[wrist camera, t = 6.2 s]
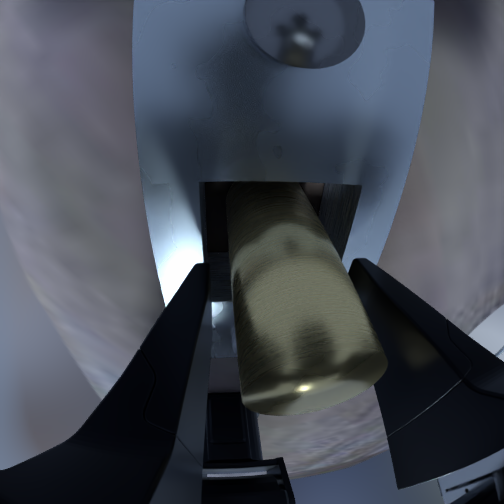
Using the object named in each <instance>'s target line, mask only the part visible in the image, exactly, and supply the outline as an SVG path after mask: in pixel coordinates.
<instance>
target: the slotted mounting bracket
mask: <svg viewBox="0 0 504 504" xmlns="http://www.w3.org/2000/svg"><path fill="white" fill-rule="evenodd" d="M433 25H434V1H433V0H134V9H133V36H132V68H133V96H134V113H135V126H136V138H137V148H138V157H139V166H140V174H141V181H142V188H143V195H144V202H145V208H146V214H147V220H148V226H149V232H150V237H151V242H152V247H153V252H154V257H155V262H156V267H157V272H158V276H159V280H160V285H161V289H162V293H163V297H164V302H165V306H167V304H168V303H169V301H170V300H171V298H172V297H173V295H174V294H175V292H176V291H177V289H178V288H179V287H180V285H181V284H182V282H183V281H184V279H185V278H186V276H187V275H188V273H189V272H190V270H191V269H192V267H193V266H194V265H195V264H196V263H209V264H210V273H211V292H212V328H213V336H212V349H211V358H224V357H237V346H236V335H235V324H234V312H233V300H232V287H231V274H230V260H229V252H208V246H207V227H206V204H205V182H211V181H283V182H313V183H325V184H324V189H323V195H322V200H321V205H320V210H319V215H318V218H319V220H320V221H321V223H322V225H323V227H324V229H325V230H326V232H327V234H328V236H329V238H330V240H331V242H332V244H333V245H334V247H335V249H336V251H337V253H338V255H339V257H340V259H341V261H342V263H343V265H344V267H345V269H346V271H347V273H348V272H349V269H350V266H351V263H352V261H353V259H355V258H367V259H368V260H370V261H371V262H372V263H374V264H375V265H377V263H378V260H379V258H380V255H381V253H382V250H383V247H384V245H385V242H386V239H387V237H388V234H389V231H390V228H391V225H392V222H393V220H394V217H395V214H396V211H397V207H398V204H399V201H400V198H401V195H402V192H403V188H404V185H405V181H406V178H407V174H408V171H409V167H410V163H411V160H412V156H413V152H414V148H415V144H416V139H417V135H418V131H419V126H420V121H421V116H422V111H423V106H424V101H425V95H426V89H427V82H428V75H429V68H430V60H431V50H432V39H433Z"/></svg>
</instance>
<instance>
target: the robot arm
mask: <svg viewBox="0 0 504 504" xmlns="http://www.w3.org/2000/svg"><path fill="white" fill-rule="evenodd" d="M348 275H349V277H350V279H351V281H352V283H353V285H354V287H355V289H356V291H357V293H358V295H359V297H360V299H361V301H362V303H363V306H364V308H365V310H366V312H367V314H368V316H369V319H370V321H371V323H372V325H373V327H374V330H375V332H376V334H377V336H378V339H379V341H380V343H381V346H382V348H383V350H384V353H385V355H386V357H387V360H388V366H387V369H386V371H385V373H384V374H383V375H382V377H381V378H380V379H379V380H378V381H377V382H376V383H375V384H374V388H375V391H376V395H377V399H378V402H379V406H380V410H381V414H382V418H383V422H384V426H385V430H386V435H387V440H388V444H389V448H390V453H391V458H392V462H393V467H394V473H395V478H396V483H397V488H398V490H400V489H404V488H407V487H411V486H414V485H418V484H421V483H424V482H427V481H430V480H433V479H436V478H437V482H438V485H439V489H440V493H441V496H443V498H444V502H445V504H504V362H503V361H502V360H500V359H499V358H498V357H496V356H495V355H494V354H492V353H491V352H490V351H488V350H487V349H485V348H484V347H483V346H481V345H480V344H479V343H477V342H476V341H475V340H473V339H472V338H471V337H469V336H468V335H466V334H465V333H464V332H463V331H461V330H460V329H459V328H458V327H456V326H455V325H454V324H453V323H451V322H450V321H449V320H448V319H446V318H445V317H444V316H443V315H441V314H440V313H439V312H438V311H436V310H435V309H434V308H433V307H431V306H430V305H429V304H428V303H426V302H425V301H424V300H422V299H421V298H420V297H418V296H417V295H416V294H415V293H413V292H412V291H411V290H409V289H408V288H407V287H405V286H404V285H403V284H401V283H400V282H399V281H397V280H396V279H394V278H393V277H392V276H390V275H389V274H388V273H386V272H385V271H384V270H382V269H381V268H379V267H378V266H377V265H375V264H374V263H372V262H371V261H370V260H368V259H367V258H355V259H353V261H352V263H351V266H350V269H349V272H348ZM212 336H213V328H212V292H211V273H210V264H209V263H196V264H195V265H194V266H193V267H192V269H191V270H190V272H189V273H188V275H187V276H186V278H185V279H184V281H183V282H182V284H181V285H180V287H179V288H178V289H177V291H176V292H175V294H174V295H173V297H172V298H171V300H170V301H169V303H168V304H167V306H166V307H165V309H164V311H163V312H162V314H161V315H160V317H159V318H158V320H157V321H156V323H155V324H154V326H153V327H152V329H151V330H150V332H149V334H148V335H147V337H146V338H145V340H144V341H143V343H142V345H141V346H140V349H139V350H138V351H137V352H136V354H135V355H134V357H133V359H132V360H131V362H130V363H129V365H128V366H127V368H126V369H125V371H124V372H123V374H122V375H121V377H120V378H119V379H118V381H117V382H116V383H115V384H114V386H113V387H112V388H111V390H110V391H109V392H108V394H107V395H106V396H105V397H104V399H103V400H102V401H101V402H100V404H99V405H98V406H97V408H96V409H95V410H94V411H93V413H92V414H91V415H90V416H89V418H88V419H87V420H86V422H85V423H84V424H83V425H82V427H81V428H80V429H79V430H78V431H77V432H76V433H75V434H74V435H73V436H71V437H70V438H69V439H67V440H66V441H65V442H63V443H61V444H59V445H57V446H55V447H53V448H51V449H49V450H47V451H45V452H43V453H41V454H39V455H37V456H35V457H33V458H30V459H28V460H26V461H24V462H22V463H20V464H17V465H15V466H13V467H10V468H8V469H5V470H0V504H295V498H294V494H293V491H292V487H291V484H290V480H289V477H288V474H287V470H286V467H285V463H284V460H283V457H279V458H275V459H269V460H263V458H262V450H261V442H260V435H259V427H258V419H257V417H258V416H259V413H256V412H254V411H251V410H249V409H248V408H246V407H245V406H244V405H243V403H242V398H241V394H223V395H208V383H209V371H210V360H211V349H212ZM263 471H267V474H266V475H255V476H239V477H202V474H232V473H251V472H263Z"/></svg>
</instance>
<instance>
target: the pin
mask: <svg viewBox="0 0 504 504" xmlns="http://www.w3.org/2000/svg"><path fill="white" fill-rule="evenodd" d="M226 216H227V232H228V246H229V260H230V274H231V287H232V300H233V312H234V324H235V335H236V346H237V357H238V367H239V378H240V388H241V398H242V403H243V405H244V406H245V407H246V408H248V409H249V410H251V411H254V412H256V413H260V414H265V415H275V416H287V415H298V414H305V413H310V412H315V411H319V410H323V409H326V408H329V407H332V406H335V405H338V404H340V403H343V402H345V401H347V400H349V399H351V398H353V397H355V396H357V395H359V394H361V393H362V392H364V391H365V390H367V389H368V388H370V387H371V386H372V385H373V384H375V383H376V382H377V381H378V380H379V379H380V378H381V377H382V375H383V374H384V373H385V371H386V369H387V366H388V360H387V357H386V355H385V353H384V350H383V348H382V346H381V343H380V341H379V339H378V336H377V334H376V332H375V330H374V327H373V325H372V323H371V321H370V319H369V316H368V314H367V312H366V310H365V308H364V306H363V303H362V301H361V299H360V297H359V295H358V293H357V291H356V289H355V287H354V285H353V283H352V281H351V279H350V277H349V275H348V273H347V271H346V269H345V267H344V265H343V263H342V261H341V259H340V257H339V255H338V253H337V251H336V249H335V247H334V245H333V244H332V242H331V240H330V238H329V236H328V234H327V232H326V230H325V229H324V227H323V225H322V223H321V221H320V220H319V218H318V216H317V214H316V212H315V211H314V209H313V207H312V205H311V203H310V202H309V200H308V198H307V197H306V195H305V193H304V191H303V190H302V188H301V186H300V185H299V183H298V182H283V181H234V183H233V184H232V185H231V187H230V189H229V191H228V193H227V197H226Z"/></svg>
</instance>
